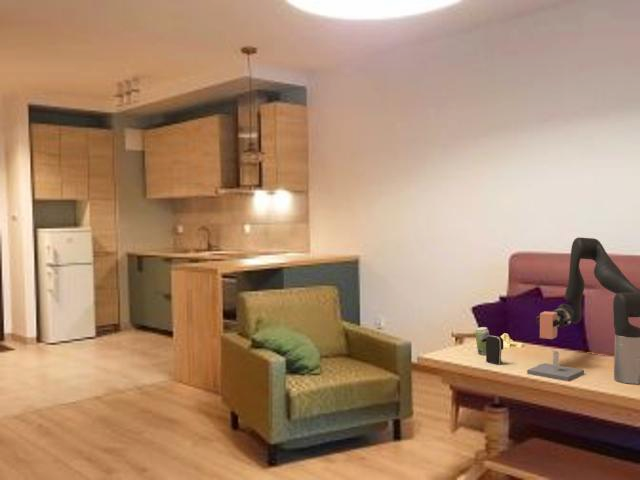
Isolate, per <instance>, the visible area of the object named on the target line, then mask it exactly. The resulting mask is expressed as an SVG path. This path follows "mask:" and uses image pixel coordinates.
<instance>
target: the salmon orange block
mask: <svg viewBox="0 0 640 480" xmlns="http://www.w3.org/2000/svg"><path fill="white" fill-rule="evenodd" d="M539 316H540V325H539V339H548V340H553V339H556V338H557V337H558V328H557V326H556V327H553V321H555V320H557V312H551V311H545V310H544V311H542V312H540V313H539Z"/></svg>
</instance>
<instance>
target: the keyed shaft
mask: <svg viewBox="0 0 640 480" xmlns="http://www.w3.org/2000/svg"><path fill="white" fill-rule="evenodd" d="M559 356H560V353H559V351H557V350H556V351H555V350H553V351H552V364H553V370H554V371H559V366H560V363H559V362H560V357H559Z"/></svg>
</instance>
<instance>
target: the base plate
mask: <svg viewBox="0 0 640 480" xmlns="http://www.w3.org/2000/svg"><path fill="white" fill-rule="evenodd" d="M526 374H528V375H532V376H538V377H542V378H543V377H544V378H548V379H553V380H559V381H564V382H565V381H566V382H569V381H571V380H574V379H576V378H578V377H580V376H582V375H584V374H585V369H581V368H575V367H571V366H564V365H563V366H562V365H559V371H554V370H553V363H547V362H546V363H545V362H544V363H541V364H539V365H537V366H533V367H531V368H529V369H527V370H526Z"/></svg>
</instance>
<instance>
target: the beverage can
mask: <svg viewBox="0 0 640 480" xmlns="http://www.w3.org/2000/svg"><path fill="white" fill-rule="evenodd" d="M474 334H475V341H476V349H477V353H478V354H479V355H480V356H481V355H482V356H483V355H484V356H486V338H487V337H488V336H491V335H490V331H489V329H488V327H486V326H481V327H477V328H476V329H475V331H474Z"/></svg>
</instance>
